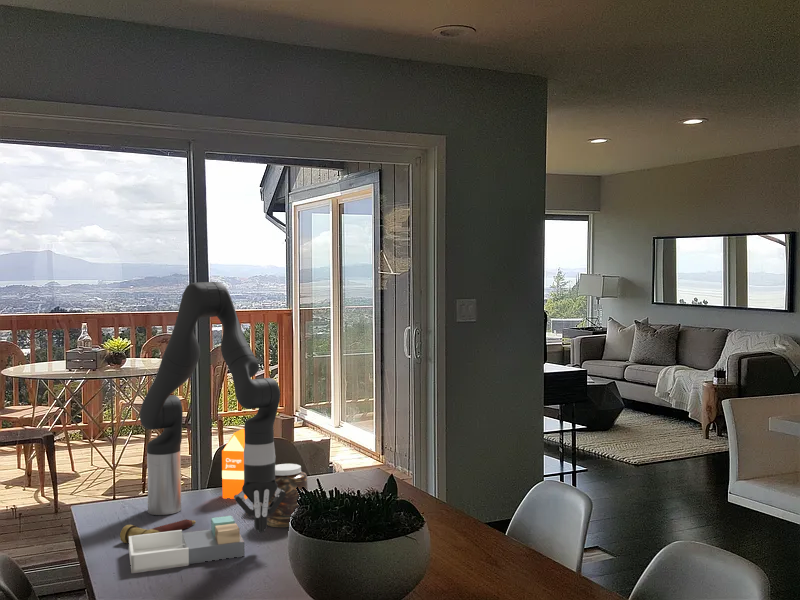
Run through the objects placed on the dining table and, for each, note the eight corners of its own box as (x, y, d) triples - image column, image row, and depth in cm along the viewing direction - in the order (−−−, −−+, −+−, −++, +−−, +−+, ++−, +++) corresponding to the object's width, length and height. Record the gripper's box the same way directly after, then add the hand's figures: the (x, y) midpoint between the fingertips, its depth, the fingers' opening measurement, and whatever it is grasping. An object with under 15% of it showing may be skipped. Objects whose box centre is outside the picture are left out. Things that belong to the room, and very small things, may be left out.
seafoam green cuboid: (211, 529, 192) (211, 518, 192) (231, 527, 194) (231, 515, 194) (214, 535, 187) (214, 523, 187) (234, 533, 189) (234, 521, 189)
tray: (128, 552, 186) (128, 536, 186) (182, 545, 191) (181, 529, 191) (131, 573, 172) (131, 555, 172) (188, 565, 177) (188, 548, 177)
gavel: (182, 510, 211) (208, 515, 206) (181, 527, 211) (208, 533, 206) (119, 526, 193) (147, 532, 188) (119, 544, 193) (146, 551, 188)
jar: (290, 512, 218) (290, 460, 218) (316, 521, 210) (315, 466, 210) (255, 521, 210) (255, 467, 210) (280, 531, 202) (280, 474, 202)
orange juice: (222, 498, 235) (221, 433, 234) (233, 490, 243) (232, 428, 243) (246, 499, 233) (245, 433, 233) (256, 491, 242) (255, 428, 242)
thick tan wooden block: (215, 538, 186) (215, 525, 185) (236, 535, 187) (236, 523, 187) (218, 544, 181) (218, 531, 181) (239, 541, 183) (239, 529, 183)
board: (182, 546, 190) (182, 532, 190) (235, 540, 195) (235, 526, 195) (188, 564, 178) (188, 549, 178) (244, 556, 183) (244, 541, 183)
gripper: (282, 455, 193) (283, 523, 193) (229, 460, 188) (230, 530, 188) (289, 461, 186) (290, 532, 186) (234, 466, 181) (235, 539, 181)
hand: (260, 531), depth 187 cm, fingers closed
